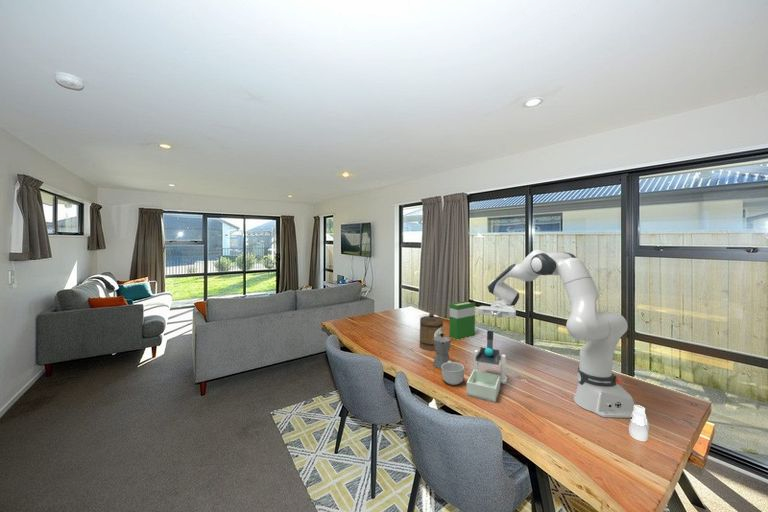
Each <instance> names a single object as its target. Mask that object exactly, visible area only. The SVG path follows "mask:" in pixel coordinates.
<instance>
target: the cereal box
mask: <svg viewBox="0 0 768 512" xmlns="http://www.w3.org/2000/svg"><path fill="white" fill-rule="evenodd" d="M475 326H476V302H469V300H464V301H459V302H454V303H453V302H452V303H449V338H451V337H452V338H451V339H453V338H455V339H454V340H456V339H459V340H462V339H461V338H463V339H466V338H465V337H467V338H471V337H474V335H476V334H475V333H476V330H475V329H476V327H475ZM470 336H471V337H470Z"/></svg>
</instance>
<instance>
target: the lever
mask: <svg viewBox="0 0 768 512" xmlns="http://www.w3.org/2000/svg"><path fill="white" fill-rule="evenodd" d="M486 333H487V334H486V338H487V339H486V341H487V342H486V347H482V346H481V347H480V349H479V350H478V354H477V355H476V360H475V361H478V363H479V362H480V363H484V364H485V363H486V364H489V365H491V364H492V365H497V366H498V365H499V364H500V361H501V359H502V356H501V354H500V349H494V331H493V330H487V331H486ZM486 348H491V349H492V350H493V355H492V356H487V355H486V354H485V349H486Z"/></svg>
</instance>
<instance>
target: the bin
mask: <svg viewBox="0 0 768 512" xmlns="http://www.w3.org/2000/svg"><path fill="white" fill-rule="evenodd" d="M482 371H483V370H478V371H477V370H474V369H473V370H472V372H471V373H470V376H468V377H469V378H468V379H467V381H466V396H468V397H472V398H476V399H480V400H484V401H487V402H492V403H497V399H498V395H499V392H500V389H501V383H500V375H501V374H498V375H497V373H493V374H492V372H488V373H487V371H483V372H482Z"/></svg>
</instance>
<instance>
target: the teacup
mask: <svg viewBox="0 0 768 512" xmlns="http://www.w3.org/2000/svg"><path fill="white" fill-rule="evenodd" d="M441 368H442V369H441V375H442V376H441V377H442V379H443V381H444V382H445V383H447V384H448V385H451V386H455V385H456V386H457V385H460V384H461V383H462V382H463V381H464V377H465V366H464V364H462V363H460V362H456V361H455V362H454V361H452V360H450V361H448V362H446V363H444V364H442V366H441Z"/></svg>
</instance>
